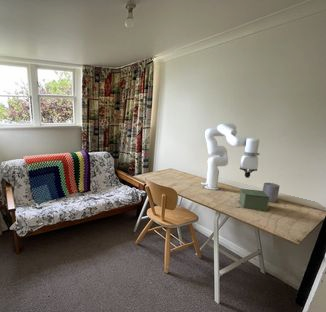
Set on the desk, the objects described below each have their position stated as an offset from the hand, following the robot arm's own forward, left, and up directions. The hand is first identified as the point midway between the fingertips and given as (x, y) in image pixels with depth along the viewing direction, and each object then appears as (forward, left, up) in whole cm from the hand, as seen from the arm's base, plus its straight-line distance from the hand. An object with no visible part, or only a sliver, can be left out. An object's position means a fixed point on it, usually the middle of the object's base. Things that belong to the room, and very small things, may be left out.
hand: (247, 177), depth 148 cm
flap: (+2, 0, -12) cm, 12 cm away
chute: (+6, 0, -23) cm, 24 cm away
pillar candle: (+22, +19, -23) cm, 37 cm away
